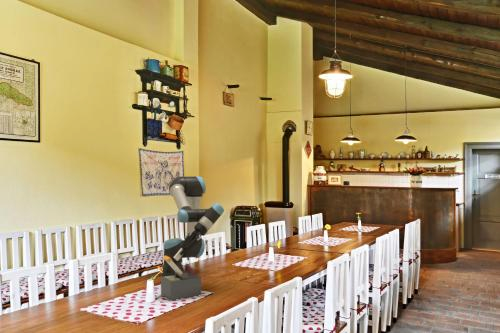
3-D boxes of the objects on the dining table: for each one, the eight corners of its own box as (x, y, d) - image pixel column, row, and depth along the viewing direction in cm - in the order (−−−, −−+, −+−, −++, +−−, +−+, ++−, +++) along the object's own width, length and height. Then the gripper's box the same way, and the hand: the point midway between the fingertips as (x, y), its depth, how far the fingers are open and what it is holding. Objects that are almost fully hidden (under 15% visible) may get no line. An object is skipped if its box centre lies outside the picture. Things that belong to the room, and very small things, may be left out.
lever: (178, 275, 249) (162, 257, 244) (180, 273, 250) (164, 255, 244) (183, 278, 243) (167, 260, 238) (186, 275, 244) (170, 257, 239)
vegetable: (183, 293, 262) (177, 269, 259) (181, 286, 272) (176, 263, 269) (201, 287, 264) (195, 264, 262) (198, 281, 274) (193, 258, 271)
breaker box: (160, 295, 246) (161, 271, 246) (190, 290, 256) (190, 267, 256) (170, 300, 235) (170, 276, 235) (201, 295, 245) (201, 272, 245)
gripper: (212, 232, 249) (185, 265, 240) (202, 229, 260) (175, 261, 251) (204, 223, 246) (176, 256, 237) (193, 220, 257) (166, 252, 248)
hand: (175, 259), depth 244 cm, fingers closed
